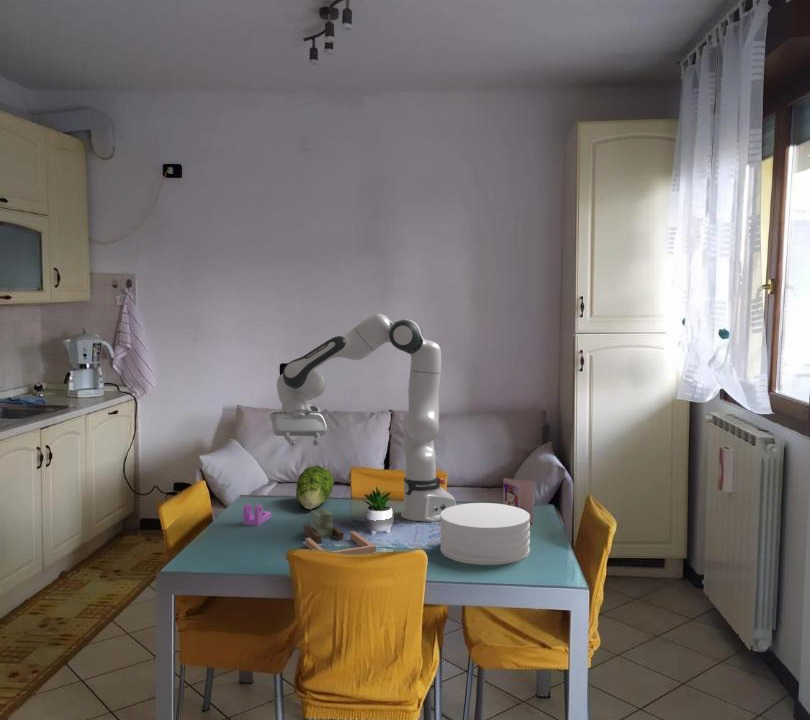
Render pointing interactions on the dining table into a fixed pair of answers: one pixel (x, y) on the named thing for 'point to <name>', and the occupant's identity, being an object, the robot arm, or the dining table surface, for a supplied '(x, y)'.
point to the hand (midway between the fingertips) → (304, 444)
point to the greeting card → (519, 495)
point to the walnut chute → (317, 537)
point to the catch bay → (365, 548)
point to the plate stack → (485, 533)
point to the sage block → (322, 522)
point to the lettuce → (314, 486)
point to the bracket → (257, 517)
